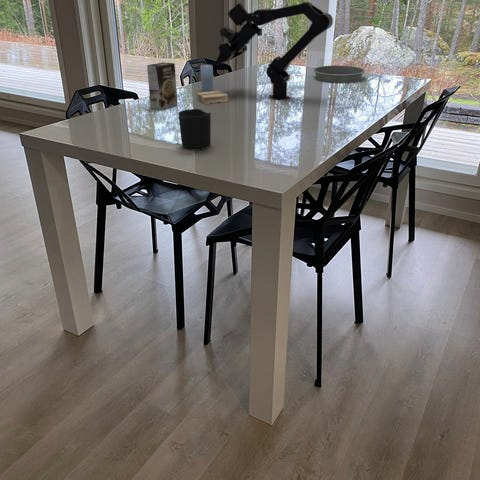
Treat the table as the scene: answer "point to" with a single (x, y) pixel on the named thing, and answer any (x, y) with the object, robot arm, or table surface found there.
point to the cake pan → (339, 74)
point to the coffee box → (162, 85)
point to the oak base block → (212, 97)
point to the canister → (207, 78)
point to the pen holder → (195, 128)
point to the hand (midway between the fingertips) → (220, 62)
